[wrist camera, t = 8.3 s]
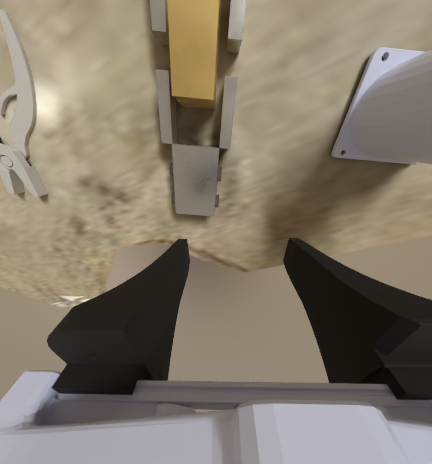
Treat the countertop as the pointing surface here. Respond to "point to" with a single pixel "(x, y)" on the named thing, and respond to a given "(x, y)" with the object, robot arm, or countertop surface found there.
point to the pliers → (19, 119)
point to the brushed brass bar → (194, 50)
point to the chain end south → (234, 32)
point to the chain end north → (194, 151)
